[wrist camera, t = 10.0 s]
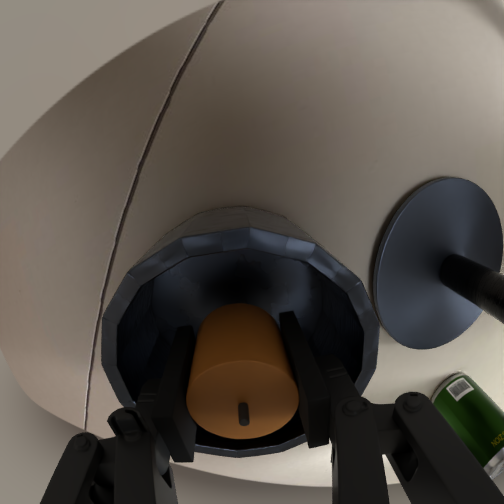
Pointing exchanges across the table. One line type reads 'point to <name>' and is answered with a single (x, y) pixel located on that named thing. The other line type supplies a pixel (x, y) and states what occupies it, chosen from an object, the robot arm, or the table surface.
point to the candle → (241, 374)
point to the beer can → (473, 420)
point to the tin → (230, 292)
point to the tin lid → (439, 264)
